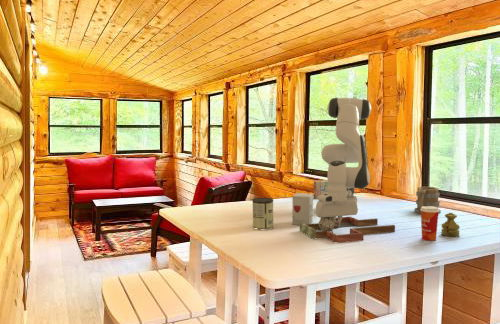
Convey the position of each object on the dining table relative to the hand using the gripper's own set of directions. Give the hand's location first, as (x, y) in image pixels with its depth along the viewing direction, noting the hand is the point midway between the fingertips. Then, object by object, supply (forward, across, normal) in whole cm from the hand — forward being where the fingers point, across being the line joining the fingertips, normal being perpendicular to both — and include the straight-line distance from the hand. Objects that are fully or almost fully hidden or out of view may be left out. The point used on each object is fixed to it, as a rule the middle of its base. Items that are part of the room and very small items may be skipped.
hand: (336, 225), depth 197 cm
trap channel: (+3, -6, 0) cm, 6 cm away
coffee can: (+3, +29, -20) cm, 36 cm away
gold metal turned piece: (+4, -46, +21) cm, 51 cm away
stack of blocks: (+4, -41, -84) cm, 93 cm away
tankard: (+4, -68, -22) cm, 71 cm away
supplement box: (+4, +7, -22) cm, 23 cm away
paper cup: (+4, -32, +24) cm, 40 cm away
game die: (+3, +5, -1) cm, 6 cm away
